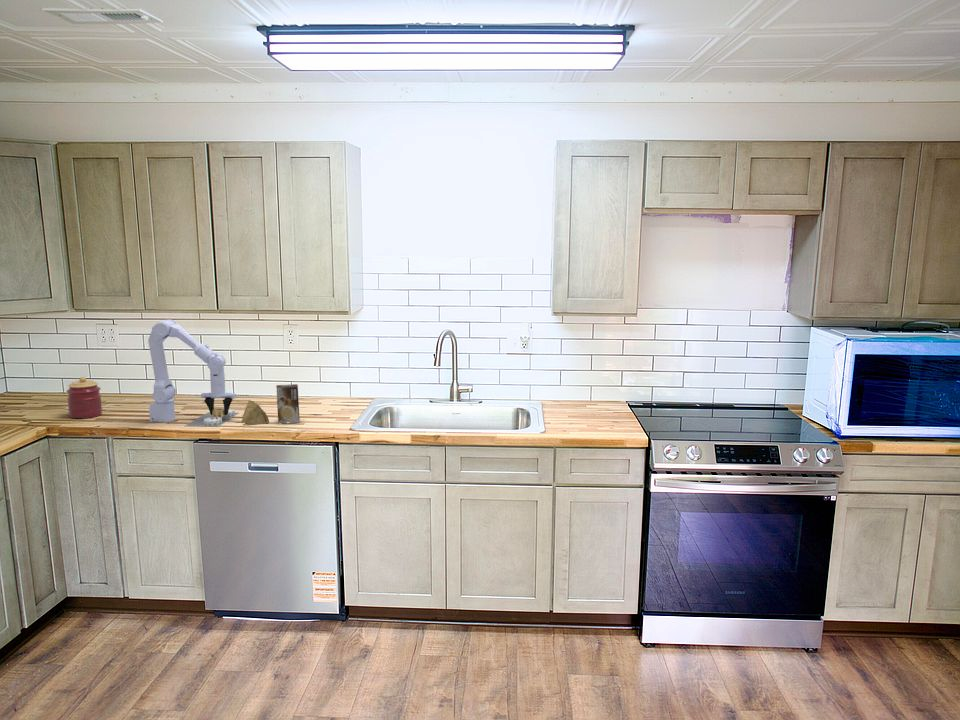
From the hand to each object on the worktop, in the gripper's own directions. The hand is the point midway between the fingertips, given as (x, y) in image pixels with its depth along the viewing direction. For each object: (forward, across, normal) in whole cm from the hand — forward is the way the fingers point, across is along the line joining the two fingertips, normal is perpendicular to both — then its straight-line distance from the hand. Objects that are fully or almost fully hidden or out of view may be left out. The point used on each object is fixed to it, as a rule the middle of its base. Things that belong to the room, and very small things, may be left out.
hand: (219, 414), depth 286 cm
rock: (+3, -16, +2) cm, 17 cm away
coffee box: (+3, -30, -2) cm, 30 cm away
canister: (+3, +62, -6) cm, 63 cm away
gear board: (+3, +3, 0) cm, 4 cm away
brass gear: (+1, 0, 0) cm, 1 cm away
